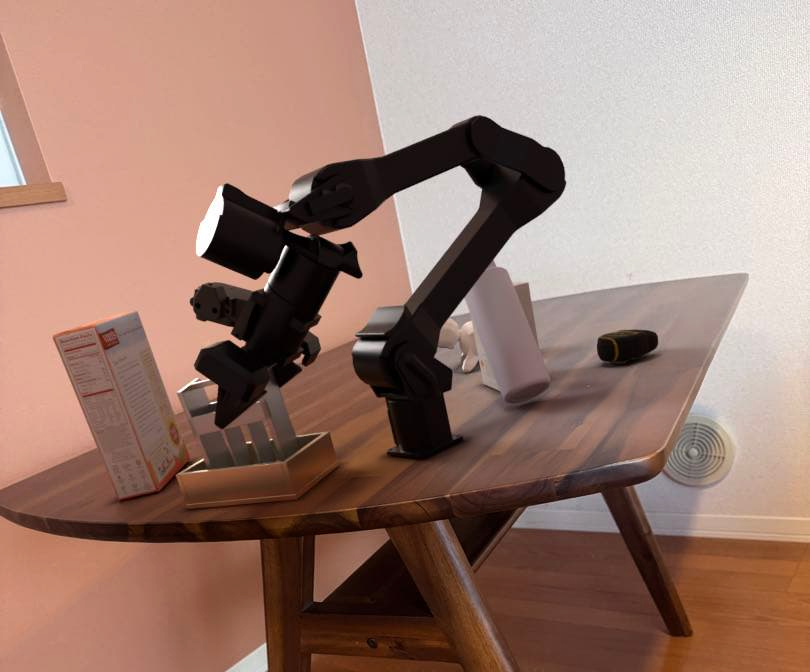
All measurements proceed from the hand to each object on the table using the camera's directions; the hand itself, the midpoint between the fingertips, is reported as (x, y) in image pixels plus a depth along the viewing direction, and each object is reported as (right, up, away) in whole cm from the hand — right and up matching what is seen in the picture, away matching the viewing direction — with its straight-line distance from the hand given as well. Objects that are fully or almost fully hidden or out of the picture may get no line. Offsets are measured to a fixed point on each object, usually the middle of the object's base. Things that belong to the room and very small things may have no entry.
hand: (231, 418), depth 84 cm
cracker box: (-14, -5, +18) cm, 23 cm away
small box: (+34, +8, +23) cm, 42 cm away
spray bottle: (+34, +4, +8) cm, 35 cm away
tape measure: (+49, +11, +21) cm, 54 cm away
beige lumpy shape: (+31, +15, +40) cm, 53 cm away
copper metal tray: (+3, -7, +3) cm, 8 cm away
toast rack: (+3, -6, +3) cm, 7 cm away
